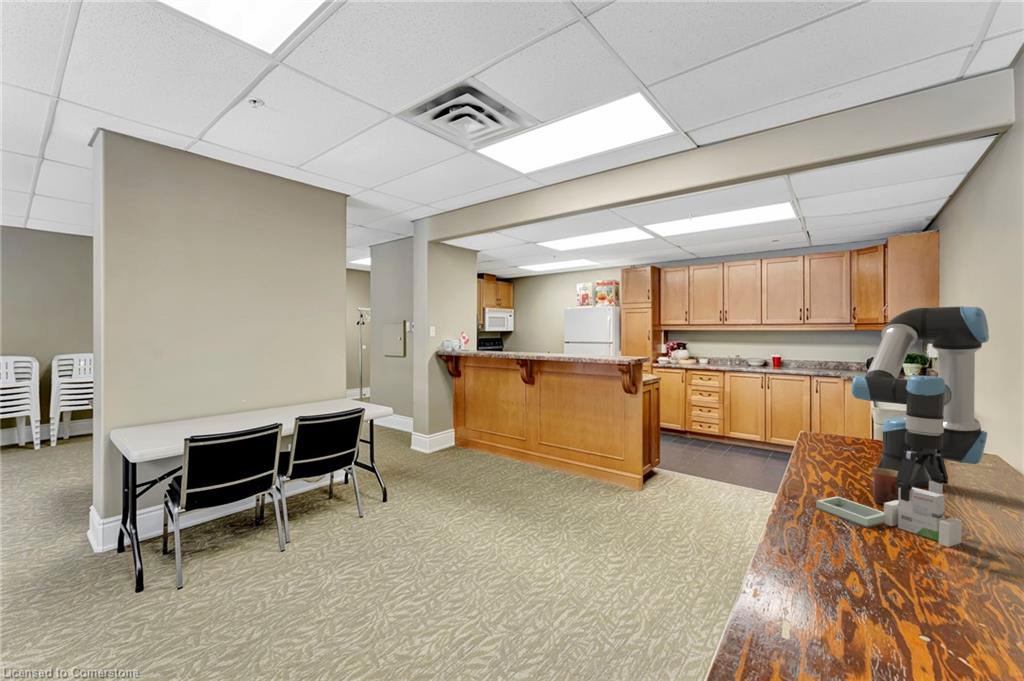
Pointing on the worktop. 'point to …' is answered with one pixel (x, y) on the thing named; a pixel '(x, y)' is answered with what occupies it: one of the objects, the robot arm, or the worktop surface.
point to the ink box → (923, 514)
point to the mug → (885, 485)
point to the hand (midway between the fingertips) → (920, 508)
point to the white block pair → (947, 527)
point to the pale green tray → (851, 511)
